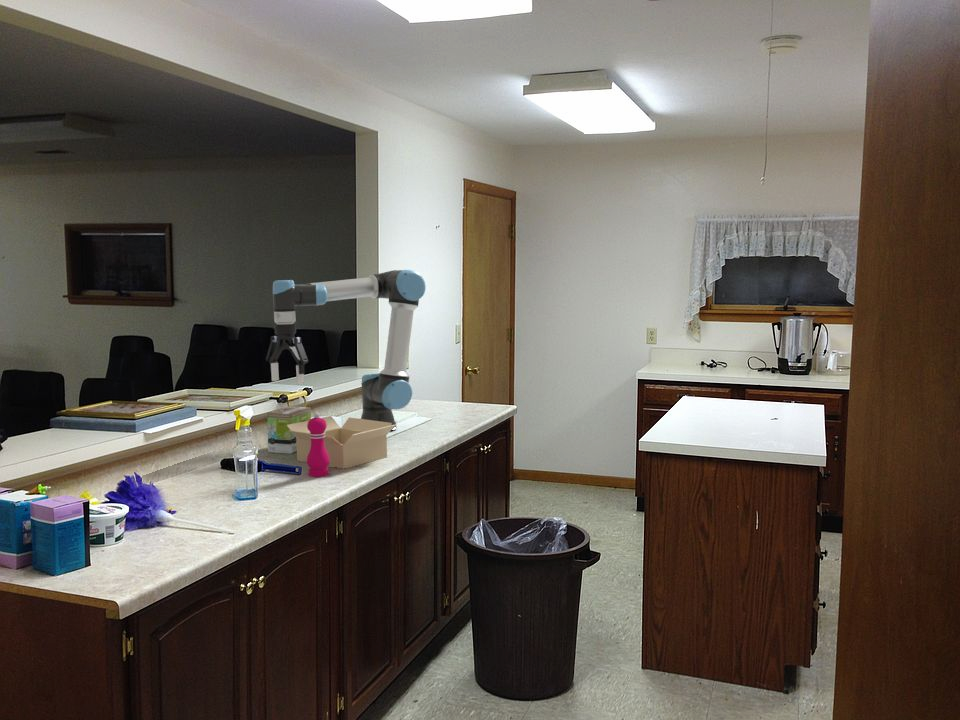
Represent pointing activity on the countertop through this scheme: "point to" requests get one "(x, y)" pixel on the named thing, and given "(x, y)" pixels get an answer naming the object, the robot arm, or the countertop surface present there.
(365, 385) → the robot arm
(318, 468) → the pepper mill
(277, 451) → the tea box
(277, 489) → the countertop surface
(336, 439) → the carton
